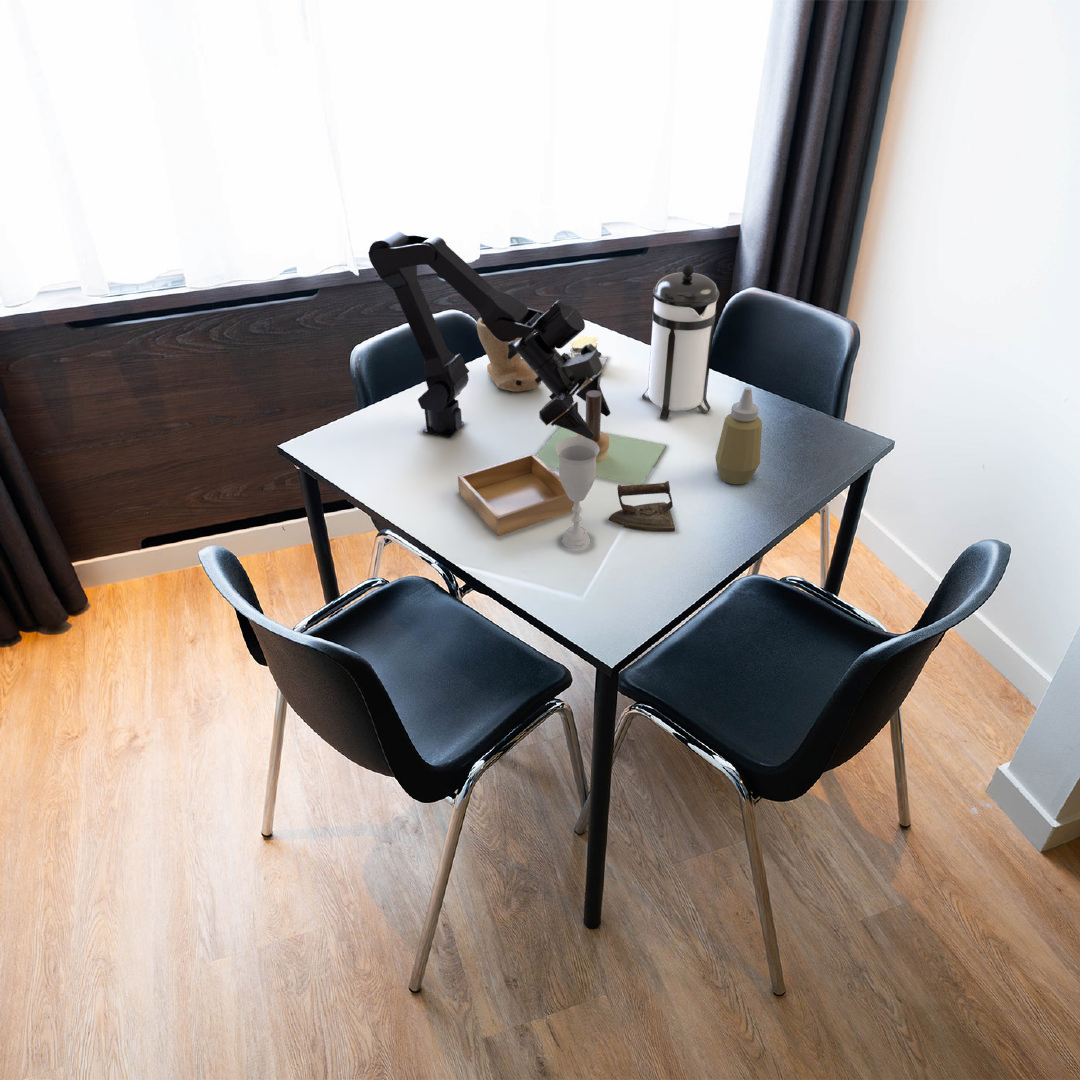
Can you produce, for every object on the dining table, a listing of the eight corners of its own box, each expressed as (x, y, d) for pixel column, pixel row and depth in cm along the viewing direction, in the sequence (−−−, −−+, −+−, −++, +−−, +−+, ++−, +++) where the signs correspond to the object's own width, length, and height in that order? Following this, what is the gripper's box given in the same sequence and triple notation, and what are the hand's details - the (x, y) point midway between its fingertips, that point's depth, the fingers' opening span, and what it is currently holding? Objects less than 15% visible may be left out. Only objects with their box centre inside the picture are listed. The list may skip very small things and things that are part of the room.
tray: (459, 494, 152) (457, 475, 150) (533, 471, 159) (532, 453, 156) (498, 538, 142) (497, 518, 139) (576, 511, 148) (576, 492, 145)
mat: (530, 464, 161) (530, 462, 160) (561, 426, 172) (561, 424, 172) (641, 487, 154) (641, 485, 153) (665, 446, 165) (665, 444, 165)
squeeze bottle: (760, 469, 158) (774, 381, 147) (754, 492, 152) (769, 402, 141) (716, 462, 160) (728, 375, 150) (709, 484, 154) (720, 395, 143)
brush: (580, 465, 159) (581, 403, 152) (571, 448, 164) (572, 388, 157) (613, 460, 160) (615, 399, 153) (603, 444, 165) (605, 384, 158)
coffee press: (724, 398, 182) (742, 258, 164) (693, 429, 171) (709, 283, 153) (651, 379, 189) (661, 244, 171) (617, 408, 178) (624, 267, 160)
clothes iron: (679, 533, 143) (671, 489, 136) (614, 547, 144) (602, 504, 138) (672, 506, 148) (664, 463, 141) (609, 520, 150) (598, 478, 143)
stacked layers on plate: (570, 354, 201) (570, 332, 197) (607, 357, 199) (608, 335, 195) (560, 371, 193) (560, 349, 190) (598, 376, 191) (599, 353, 188)
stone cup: (475, 369, 194) (471, 307, 185) (525, 363, 197) (523, 301, 188) (489, 399, 182) (486, 333, 174) (542, 391, 185) (541, 326, 176)
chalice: (553, 530, 143) (553, 438, 132) (593, 528, 144) (596, 435, 133) (558, 556, 137) (558, 462, 127) (599, 554, 138) (602, 459, 127)
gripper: (555, 357, 143) (614, 427, 146) (593, 318, 157) (646, 382, 160) (514, 392, 150) (571, 457, 153) (554, 351, 164) (605, 412, 167)
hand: (600, 425), depth 158 cm, fingers open, 9 cm apart
